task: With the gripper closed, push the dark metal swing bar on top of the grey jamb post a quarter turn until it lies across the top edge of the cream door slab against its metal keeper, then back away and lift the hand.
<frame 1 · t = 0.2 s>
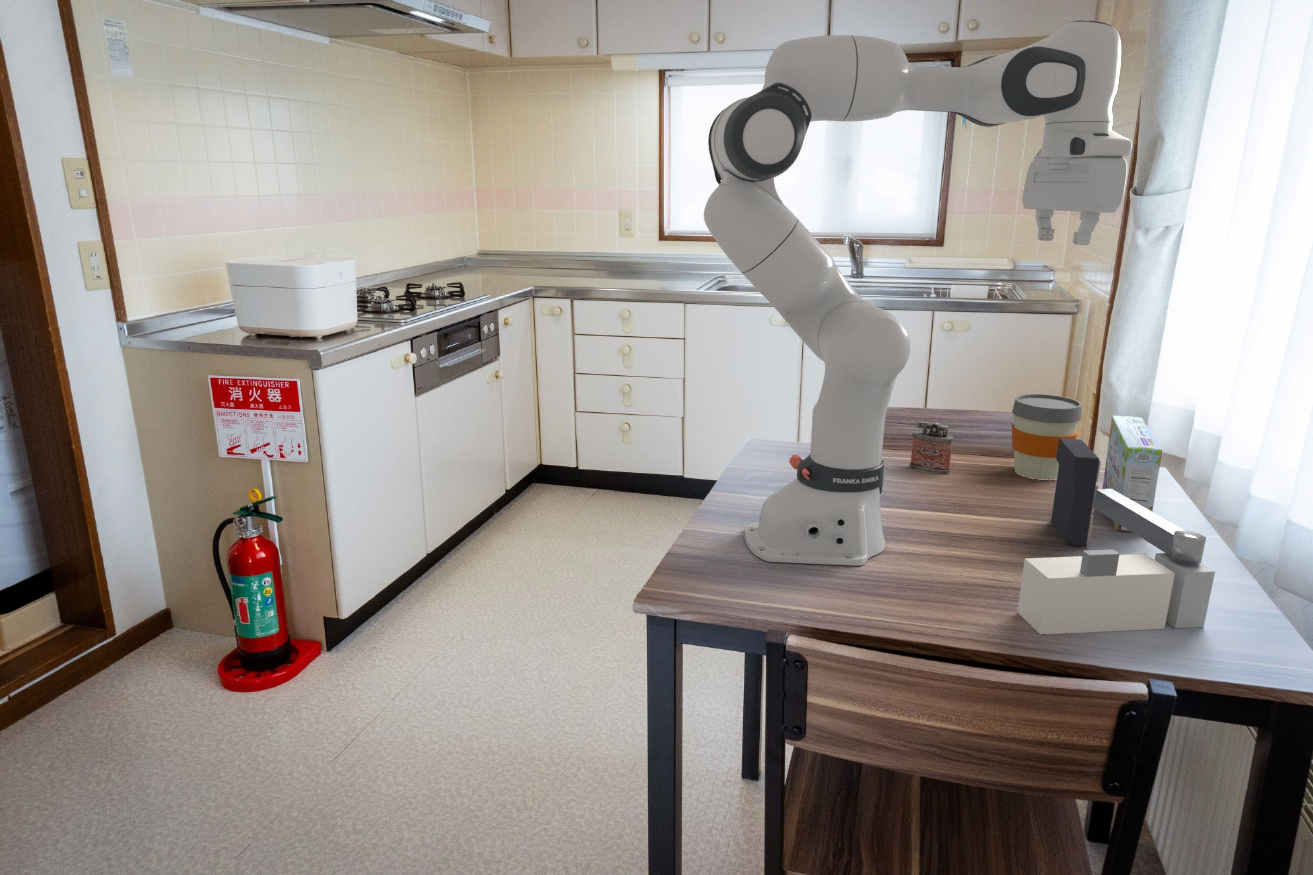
hand: (1062, 242, 128), 47 cm above the table, tool pointing down, fingers open, 8 cm apart
swing bar: (1145, 522, 121), point 10 cm above the table, hinge at 0.0°
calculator: (1068, 534, 143), on the table
reusable coffee cup: (1038, 474, 173), on the table
door slab: (1089, 620, 114), on the table
jamb post: (1174, 616, 116), on the table
lighter: (929, 471, 174), on the table
snack box: (1122, 512, 153), on the table
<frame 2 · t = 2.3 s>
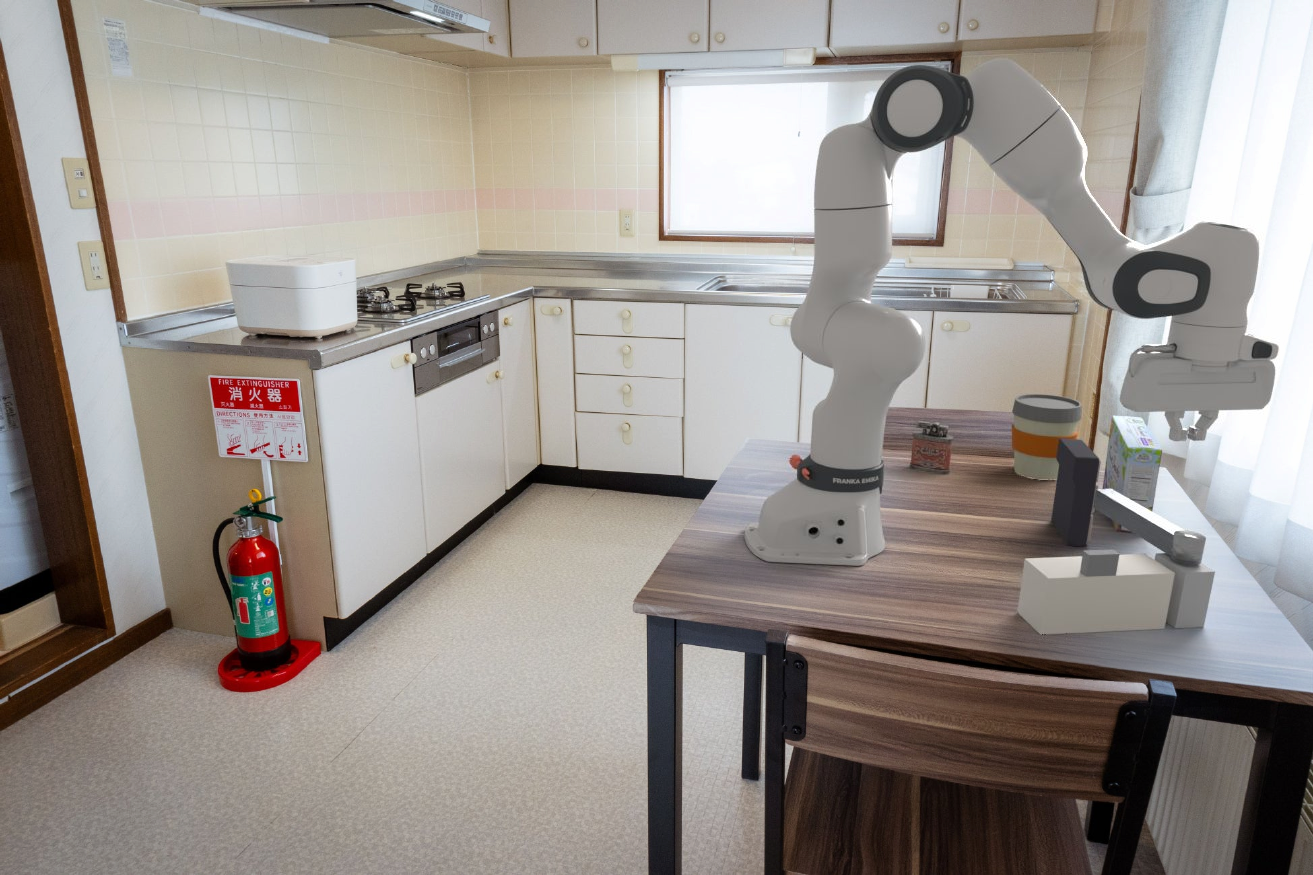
hand: (1186, 440, 122), 21 cm above the table, tool pointing down, fingers closed
nothing on the table moved.
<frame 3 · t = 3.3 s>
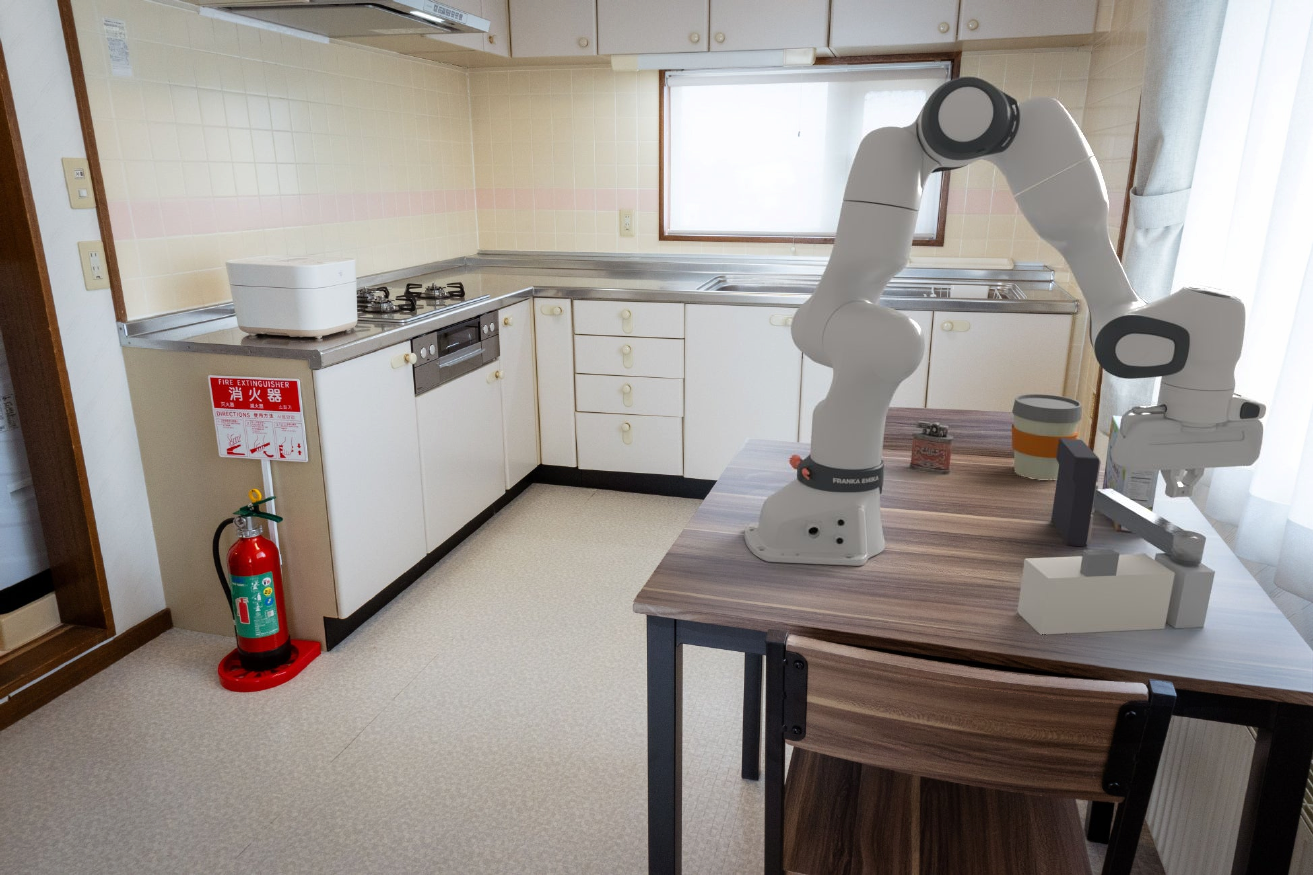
hand: (1177, 496, 124), 13 cm above the table, tool pointing down, fingers closed
nothing on the table moved.
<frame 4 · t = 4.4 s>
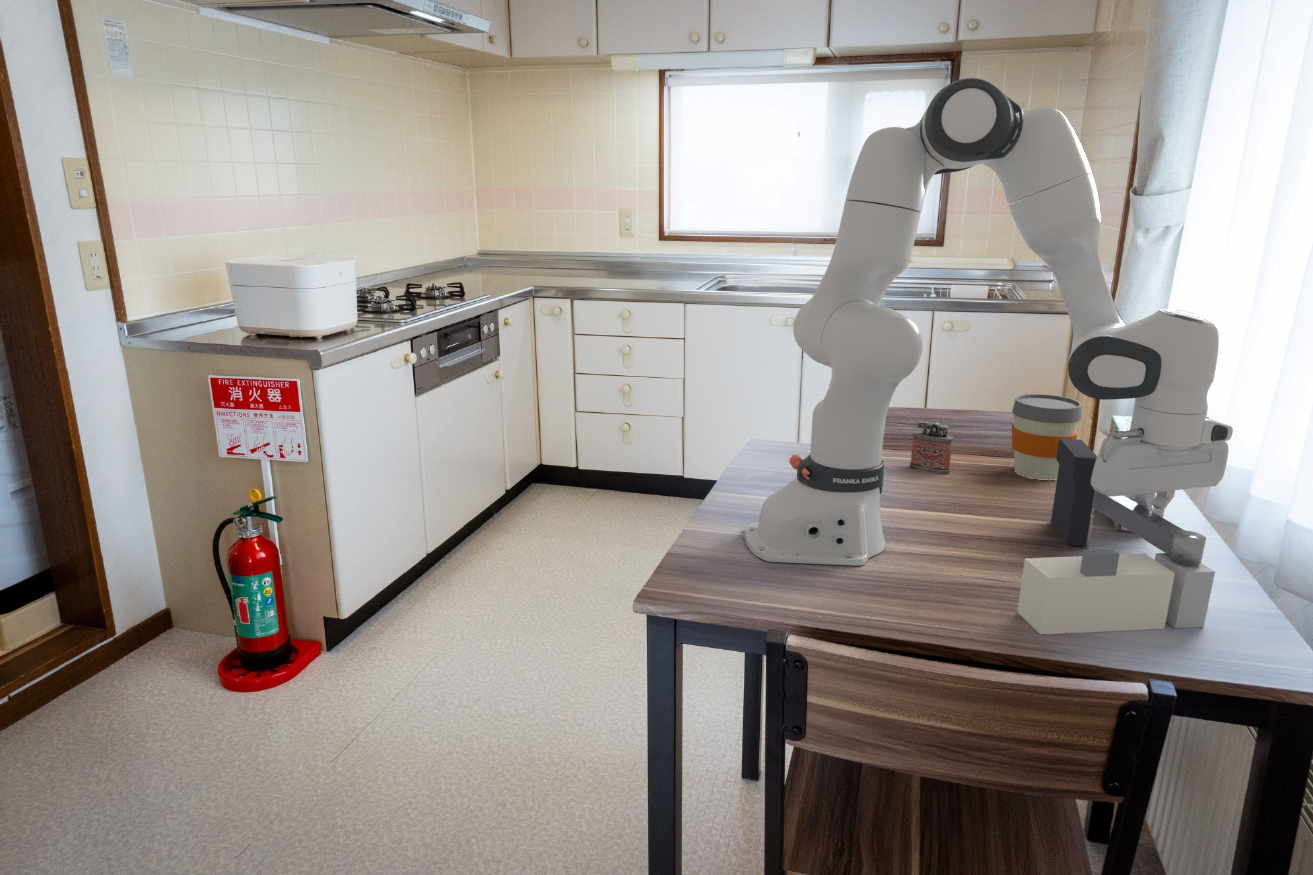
hand: (1149, 518, 125), 9 cm above the table, tool pointing down, fingers closed
swing bar: (1145, 522, 121), point 10 cm above the table, hinge at 0.0°, touching gripper
everything else where it was.
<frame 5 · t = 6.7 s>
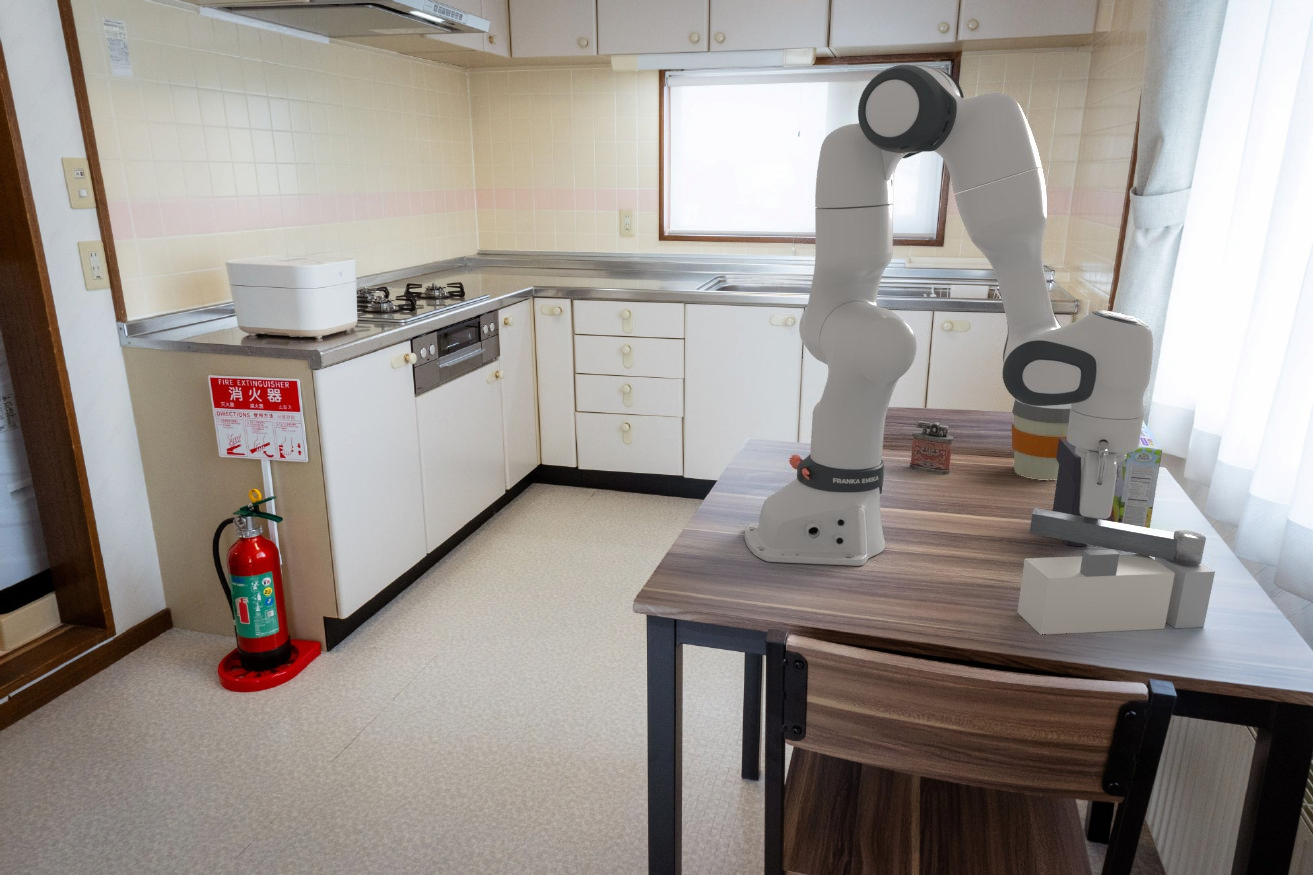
hand: (1089, 526, 120), 10 cm above the table, tool pointing down, fingers closed
swing bar: (1114, 534, 117), point 10 cm above the table, hinge at 53.7°, touching gripper
everything else where it was.
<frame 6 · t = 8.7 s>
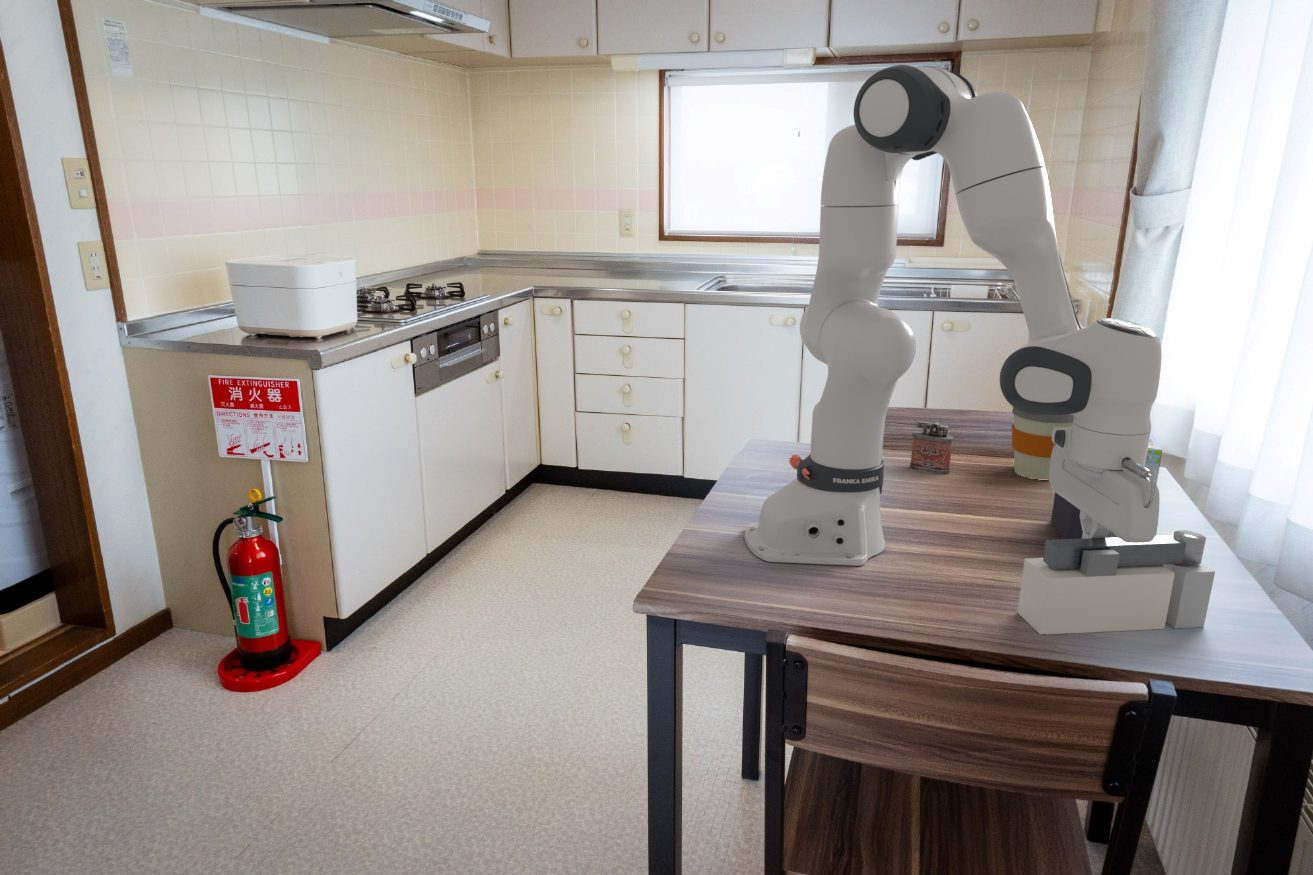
hand: (1092, 546, 114), 10 cm above the table, tool pointing down, fingers closed
swing bar: (1125, 550, 112), point 10 cm above the table, hinge at 90.2°, touching gripper
everything else where it was.
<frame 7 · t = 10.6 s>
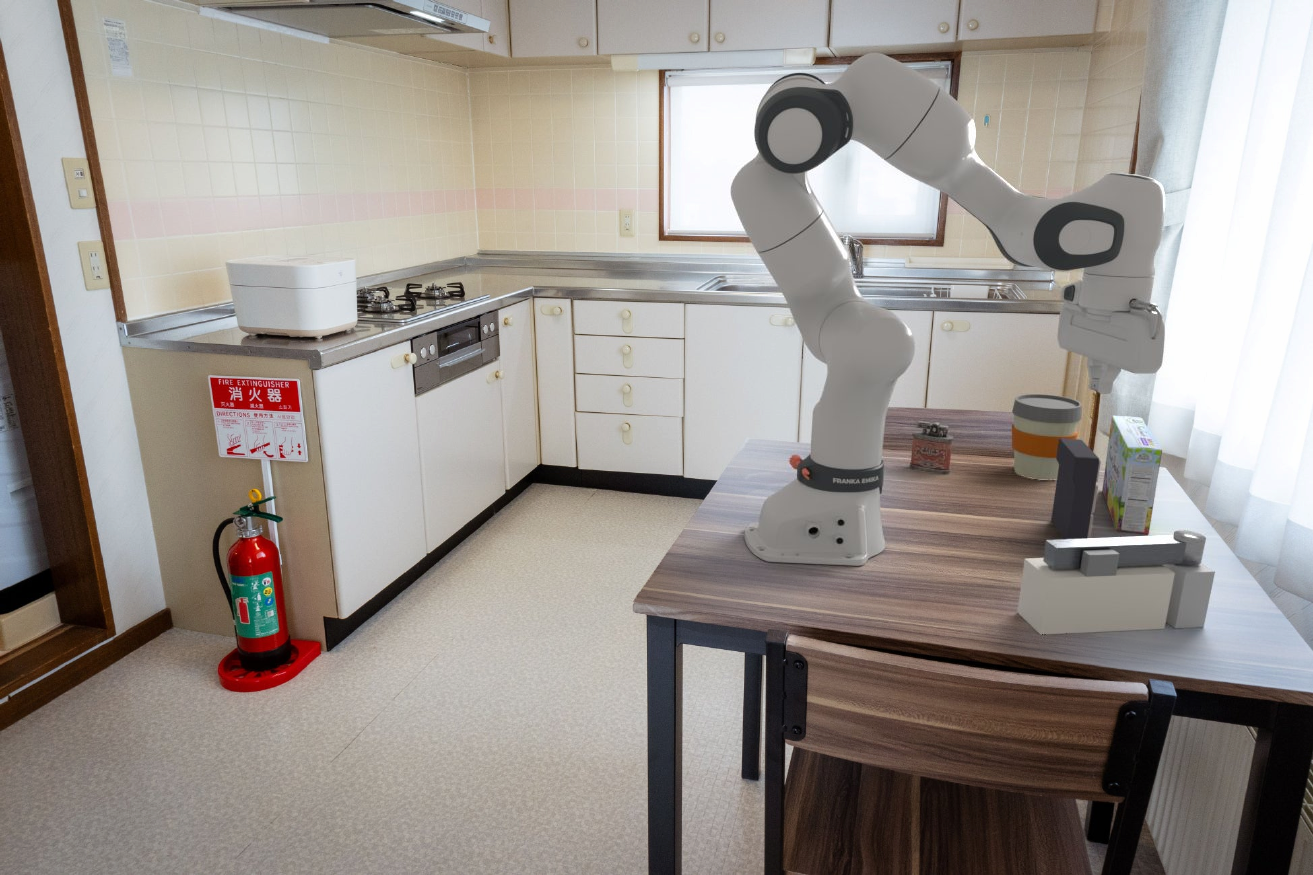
hand: (1099, 391, 124), 27 cm above the table, tool pointing down, fingers closed
swing bar: (1125, 550, 112), point 10 cm above the table, hinge at 90.3°
everything else where it was.
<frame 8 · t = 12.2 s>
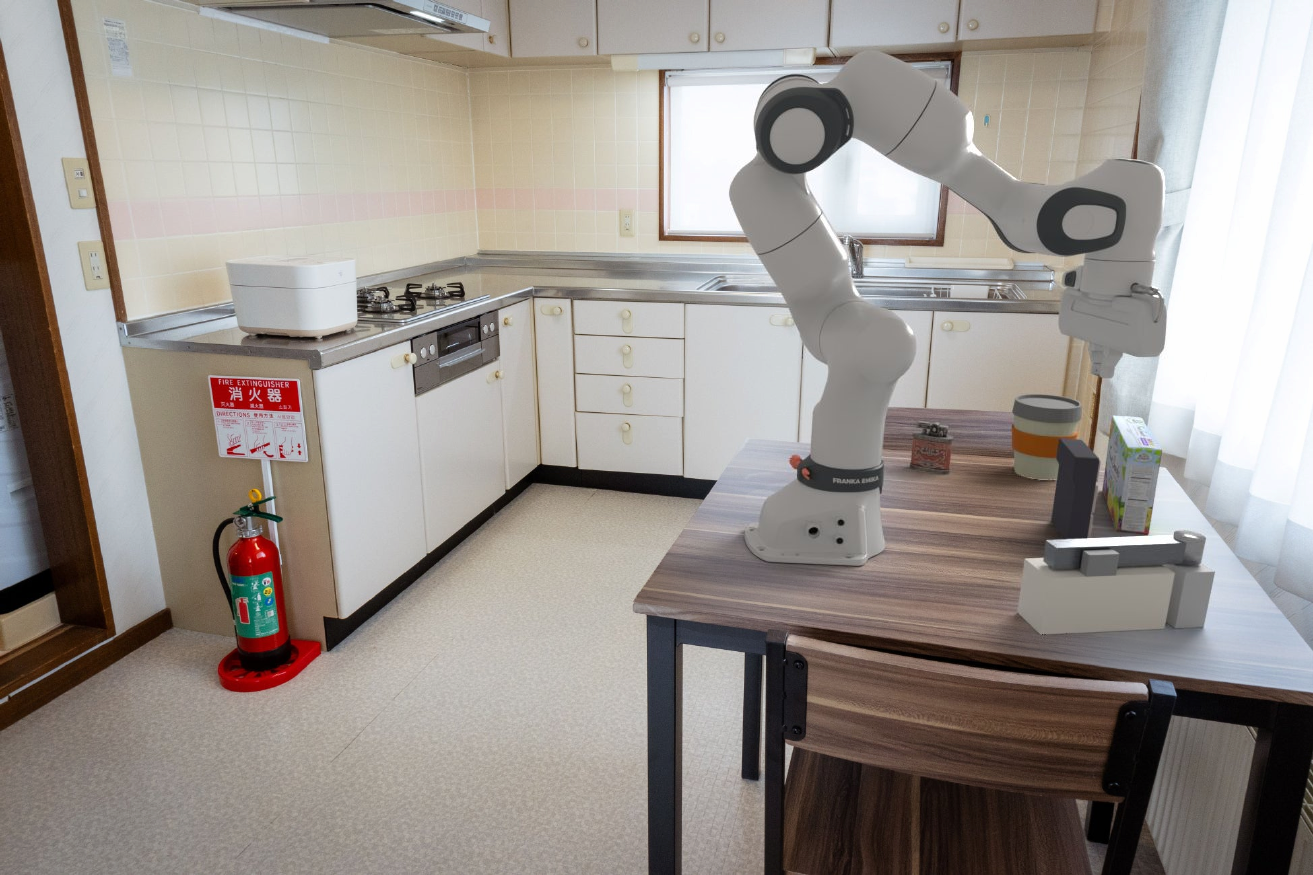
hand: (1101, 376, 125), 29 cm above the table, tool pointing down, fingers closed
nothing on the table moved.
at the end: swing bar at +90° (first picture: +0°); the gripper is holding nothing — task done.
